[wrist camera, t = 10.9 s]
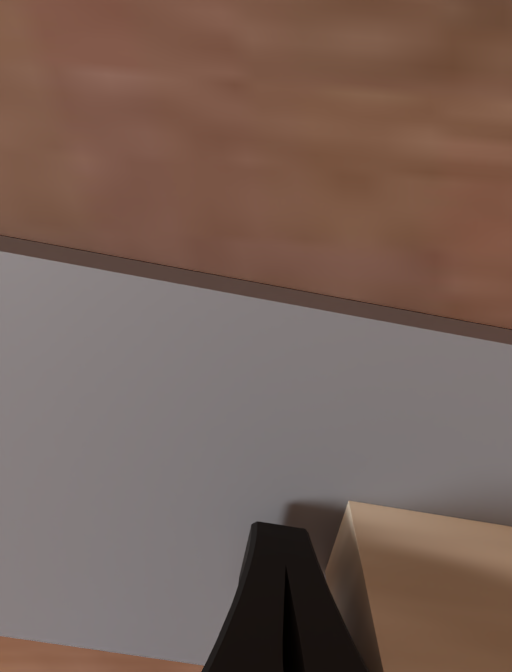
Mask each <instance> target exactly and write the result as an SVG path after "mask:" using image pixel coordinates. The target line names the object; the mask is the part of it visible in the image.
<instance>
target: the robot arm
mask: <svg viewBox="0 0 512 672" xmlns="http://www.w3.org/2000/svg"><path fill="white" fill-rule="evenodd" d="M202 672H369V670H368V668H367V666H366V665H365V663H364V661H363V659H362V657H361V655H360V653H359V651H358V649H357V647H356V645H355V643H354V641H353V639H352V637H351V635H350V633H349V631H348V629H347V627H346V625H345V623H344V620H343V618H342V616H341V614H340V612H339V609H338V607H337V605H336V603H335V601H334V598H333V596H332V594H331V591H330V589H329V587H328V584H327V582H326V579H325V577H324V574H323V572H322V569H321V567H320V564H319V562H318V559H317V556H316V553H315V551H314V548H313V545H312V542H311V539H310V536H309V533H308V532H307V530H306V529H304V528H297V527H291V526H284V525H278V524H272V523H265V522H259V521H257V522H255V523H253V524H251V528H250V533H249V537H248V541H247V546H246V550H245V554H244V558H243V563H242V567H241V571H240V576H239V582H238V587H237V590H236V593H235V596H234V599H233V602H232V604H231V607H230V609H229V612H228V614H227V616H226V619H225V621H224V624H223V626H222V628H221V631H220V633H219V636H218V638H217V640H216V642H215V644H214V647H213V649H212V651H211V653H210V655H209V657H208V659H207V662H206V664H205V666H204V668H203V670H202Z"/></svg>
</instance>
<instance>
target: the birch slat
mask: <svg viewBox="0 0 512 672" xmlns="http://www.w3.org/2000/svg"><path fill="white" fill-rule="evenodd" d="M325 575H326V582H327V584H328V587H329V589H330V591H331V594H332V596H333V598H334V601H335V603H336V605H337V607H338V609H339V612H340V614H341V616H342V618H343V620H344V623H345V625H346V627H347V629H348V631H349V633H350V635H351V637H352V639H353V641H354V643H355V645H356V647H357V649H358V651H359V653H360V655H361V657H362V659H363V661H364V663H365V665H366V666H367V668H368V670H369V672H512V527H511V526H505V525H499V524H492V523H486V522H480V521H474V520H467V519H461V518H455V517H448V516H442V515H436V514H430V513H423V512H417V511H411V510H405V509H398V508H392V507H386V506H380V505H373V504H367V503H361V502H354V501H348V504H347V507H346V510H345V513H344V516H343V519H342V522H341V525H340V528H339V531H338V534H337V537H336V540H335V543H334V546H333V549H332V552H331V555H330V558H329V561H328V564H327V567H326V570H325Z"/></svg>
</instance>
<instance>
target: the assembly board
mask: <svg viewBox="0 0 512 672" xmlns="http://www.w3.org/2000/svg"><path fill="white" fill-rule="evenodd" d="M348 501H354V502H361V503H367V504H373V505H380V506H386V507H392V508H398V509H405V510H411V511H417V512H423V513H430V514H436V515H442V516H448V517H455V518H461V519H467V520H474V521H480V522H486V523H492V524H499V525H505V526H511V527H512V330H509V329H504V328H498V327H493V326H488V325H482V324H477V323H471V322H466V321H461V320H455V319H450V318H444V317H439V316H434V315H428V314H423V313H417V312H412V311H406V310H401V309H396V308H390V307H385V306H379V305H374V304H369V303H363V302H358V301H352V300H347V299H342V298H336V297H331V296H325V295H320V294H315V293H309V292H304V291H298V290H293V289H287V288H282V287H277V286H271V285H266V284H260V283H255V282H250V281H244V280H239V279H233V278H228V277H223V276H217V275H212V274H206V273H201V272H196V271H190V270H185V269H179V268H174V267H168V266H163V265H158V264H152V263H147V262H141V261H136V260H131V259H125V258H120V257H114V256H109V255H104V254H98V253H93V252H87V251H82V250H77V249H71V248H66V247H60V246H55V245H49V244H44V243H39V242H33V241H28V240H22V239H17V238H12V237H6V236H1V235H0V636H5V637H12V638H18V639H25V640H32V641H39V642H46V643H53V644H60V645H67V646H74V647H80V648H87V649H94V650H101V651H108V652H115V653H122V654H129V655H136V656H142V657H149V658H156V659H163V660H170V661H177V662H184V663H191V664H198V665H204V666H205V664H206V662H207V659H208V657H209V655H210V653H211V651H212V649H213V647H214V644H215V642H216V640H217V638H218V636H219V633H220V631H221V628H222V626H223V624H224V621H225V619H226V616H227V614H228V612H229V609H230V607H231V604H232V602H233V599H234V596H235V593H236V590H237V587H238V582H239V576H240V571H241V567H242V563H243V558H244V554H245V550H246V546H247V541H248V537H249V533H250V528H251V524H253V523H255V522H257V521H259V522H265V523H272V524H278V525H284V526H291V527H297V528H304V529H306V530H307V532H308V533H309V536H310V539H311V542H312V545H313V548H314V551H315V553H316V556H317V559H318V562H319V564H320V567H321V569H322V572H323V574H324V577H325V579H326V575H325V570H326V567H327V564H328V561H329V558H330V555H331V552H332V549H333V546H334V543H335V540H336V537H337V534H338V531H339V528H340V525H341V522H342V519H343V516H344V513H345V510H346V507H347V504H348Z"/></svg>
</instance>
